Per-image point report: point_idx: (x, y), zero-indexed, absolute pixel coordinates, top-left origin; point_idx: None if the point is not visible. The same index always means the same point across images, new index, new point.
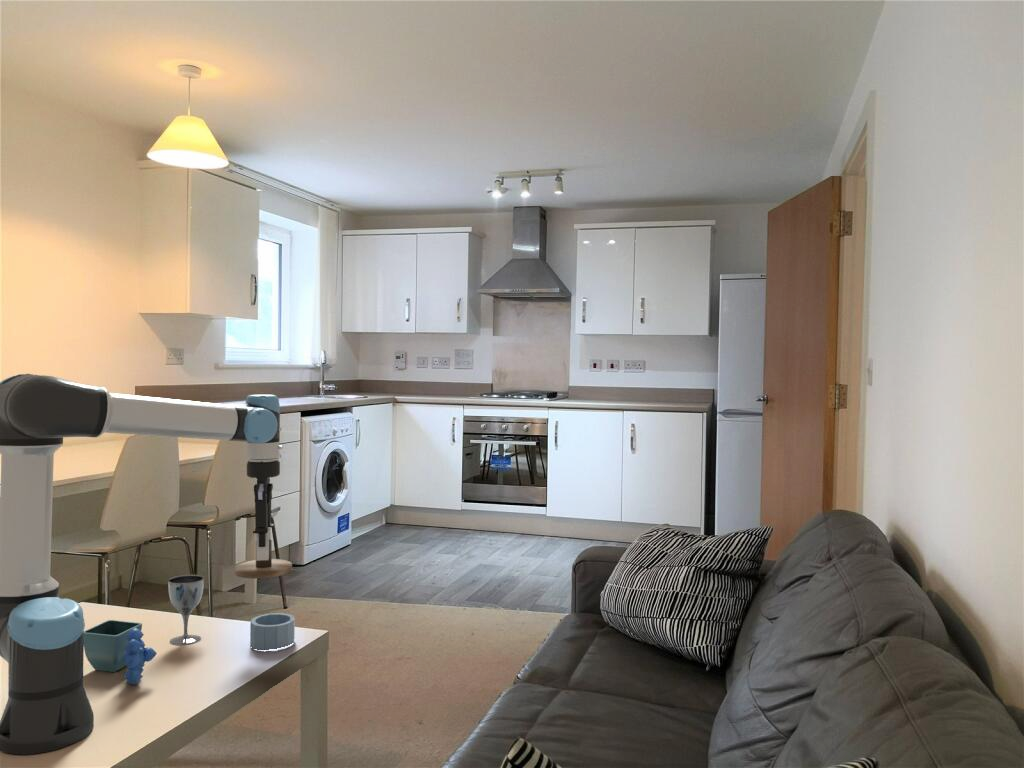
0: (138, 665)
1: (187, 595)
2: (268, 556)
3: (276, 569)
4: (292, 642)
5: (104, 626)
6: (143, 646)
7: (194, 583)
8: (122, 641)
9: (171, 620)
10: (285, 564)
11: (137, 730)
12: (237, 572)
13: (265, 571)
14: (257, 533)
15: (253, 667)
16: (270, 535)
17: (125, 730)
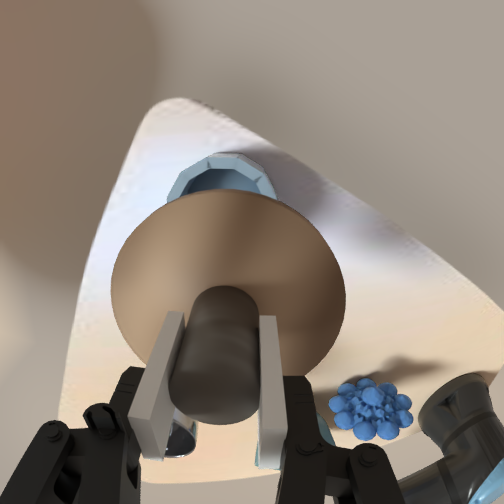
0: (390, 393)
1: None
2: (272, 325)
3: (302, 260)
4: (244, 156)
5: None
6: (381, 409)
7: (185, 425)
8: (322, 434)
9: (91, 372)
10: (215, 225)
11: (485, 336)
12: None
13: (323, 302)
14: (278, 463)
15: (353, 228)
16: (148, 382)
17: (480, 347)
